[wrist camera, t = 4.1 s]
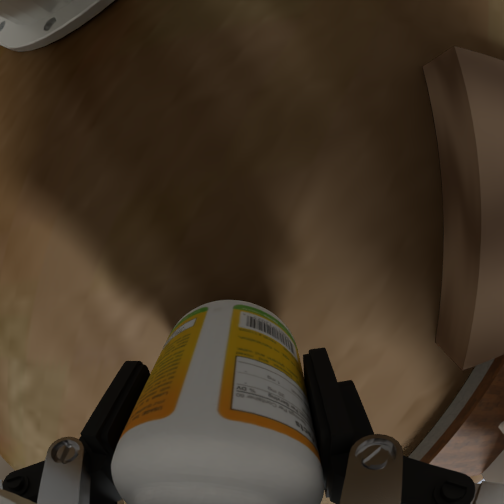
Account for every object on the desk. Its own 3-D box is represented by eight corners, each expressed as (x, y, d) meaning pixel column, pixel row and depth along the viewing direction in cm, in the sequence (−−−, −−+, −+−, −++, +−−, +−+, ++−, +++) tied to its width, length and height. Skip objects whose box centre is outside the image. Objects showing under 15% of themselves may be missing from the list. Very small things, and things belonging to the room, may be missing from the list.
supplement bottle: (183, 400, 13) (132, 585, 4) (157, 299, 12) (20, 511, 2) (298, 396, 13) (326, 596, 3) (295, 290, 11) (367, 555, 2)
